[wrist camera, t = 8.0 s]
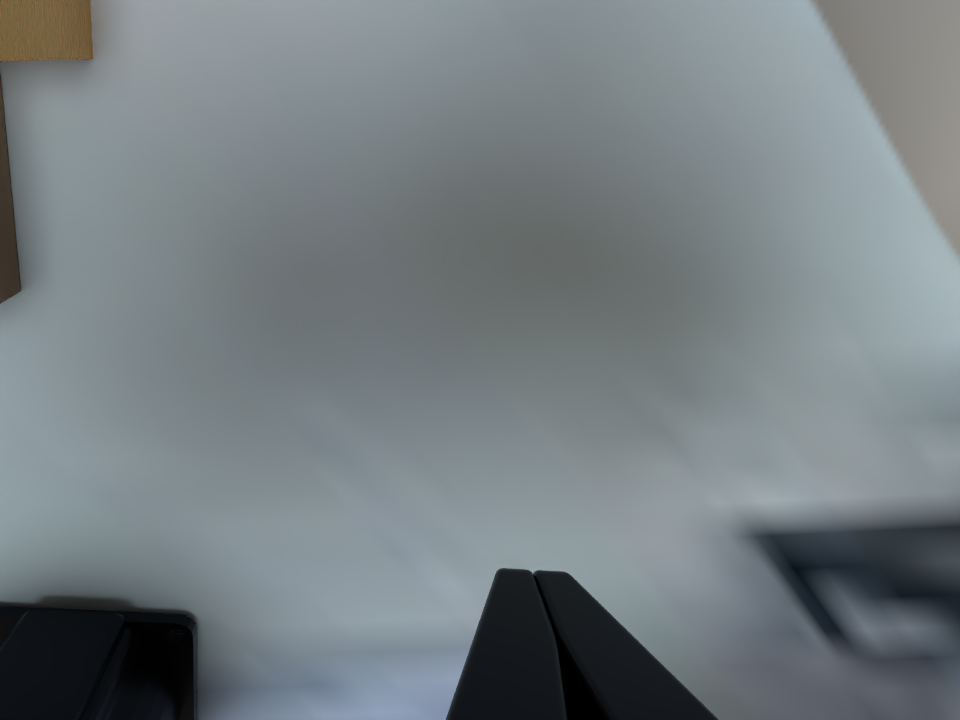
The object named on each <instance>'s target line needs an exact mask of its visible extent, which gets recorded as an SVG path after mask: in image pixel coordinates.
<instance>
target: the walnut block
mask: <svg viewBox="0 0 960 720" xmlns="http://www.w3.org/2000/svg"><path fill="white" fill-rule="evenodd" d="M20 291H21V288H20V278H19V267H18V257H17V246H16V236H15V225H14V215H13V204H12V194H11V184H10V173H9V163H8V152H7V142H6V131H5V121H4V110H3V100H2V89H1V79H0V303H2V302H4V301H5V300H7V299H9V298H10V297H12V296H13V295H15V294H17V293H18V292H20Z"/></svg>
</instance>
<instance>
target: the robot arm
mask: <svg viewBox="0 0 960 720" xmlns="http://www.w3.org/2000/svg"><path fill="white" fill-rule="evenodd" d="M172 630H179V631H181V632H182V633H183V634H178V633H175V632H174V631H172ZM0 720H197V627H196V623H195V622H194V621H193V619H192V618H190V617H188V616H186V615H181V614H165V613H143V612H120V611H97V610H75V609H52V608H30V607H7V606H0ZM446 720H718V719H717V718H716V717H715V716H714V715H713V714H712V713H711V712H710V711H709V710H708V709H707V708H706V707H705V706H704V705H703V704H702V703H701V702H700V701H699V700H698V699H697V698H696V697H695V696H694V695H693V694H692V693H691V692H690V691H689V690H688V689H687V688H686V687H685V686H684V685H683V684H682V683H681V682H680V681H679V680H678V679H676V678H675V677H674V676H673V675H672V674H671V673H670V672H669V671H668V670H667V669H666V668H665V667H664V666H663V665H662V664H661V663H660V662H659V661H658V660H657V659H656V658H655V657H654V656H653V655H652V654H651V653H650V652H649V651H648V650H647V649H646V648H645V647H644V646H643V645H642V644H641V643H640V642H639V641H638V640H637V639H636V638H635V637H633V636H632V635H631V634H630V633H629V632H628V631H627V630H626V629H625V628H624V627H623V626H622V625H621V624H620V623H619V622H618V621H617V620H616V619H615V618H614V617H613V616H612V615H611V614H610V613H609V612H608V611H607V610H606V609H605V608H604V607H603V606H602V605H601V604H600V603H599V602H598V601H597V600H596V599H595V598H594V597H593V596H591V595H590V594H589V593H588V592H587V591H586V590H585V589H584V588H583V587H582V586H581V585H580V584H579V583H578V582H577V581H576V580H575V579H574V578H573V577H572V576H571V575H570V574H568V573H566V572H561V571H542V570H538V571H535V572H534V573H533V574H532V572H530V571H529V570H524V569H507V568H501V569H499V570H498V571H497V572H496V574H495V577H494V580H493V583H492V586H491V589H490V592H489V595H488V598H487V601H486V604H485V607H484V609H483V612H482V615H481V618H480V621H479V624H478V627H477V630H476V633H475V636H474V639H473V642H472V644H471V647H470V650H469V653H468V656H467V659H466V662H465V665H464V668H463V671H462V674H461V677H460V680H459V682H458V685H457V688H456V691H455V694H454V697H453V700H452V703H451V706H450V709H449V712H448V715H447V718H446Z"/></svg>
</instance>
